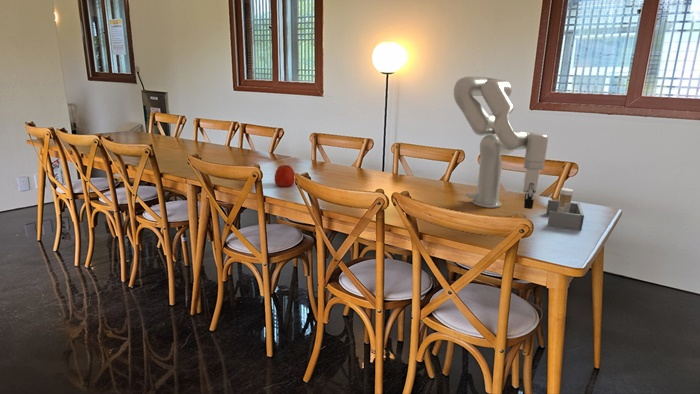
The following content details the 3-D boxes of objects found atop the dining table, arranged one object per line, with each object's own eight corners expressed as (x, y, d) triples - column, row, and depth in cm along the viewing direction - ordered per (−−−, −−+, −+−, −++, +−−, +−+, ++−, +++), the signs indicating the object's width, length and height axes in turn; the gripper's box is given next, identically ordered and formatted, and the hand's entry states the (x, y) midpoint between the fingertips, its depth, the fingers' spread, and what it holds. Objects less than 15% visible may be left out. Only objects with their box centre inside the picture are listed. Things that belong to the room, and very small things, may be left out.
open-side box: (547, 225, 174) (549, 211, 172) (546, 213, 190) (548, 199, 188) (581, 230, 170) (584, 215, 168) (577, 217, 186) (579, 203, 184)
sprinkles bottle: (553, 219, 182) (558, 187, 178) (563, 219, 183) (569, 187, 179) (559, 223, 178) (564, 190, 174) (570, 223, 178) (575, 190, 174)
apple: (292, 182, 228) (292, 162, 225) (297, 187, 219) (297, 166, 216) (272, 183, 224) (272, 163, 221) (277, 188, 215) (276, 167, 212)
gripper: (524, 160, 188) (519, 198, 192) (523, 167, 172) (517, 209, 177) (543, 161, 185) (537, 201, 190) (544, 169, 170) (538, 212, 174)
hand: (528, 205), depth 183 cm, fingers open, 9 cm apart
